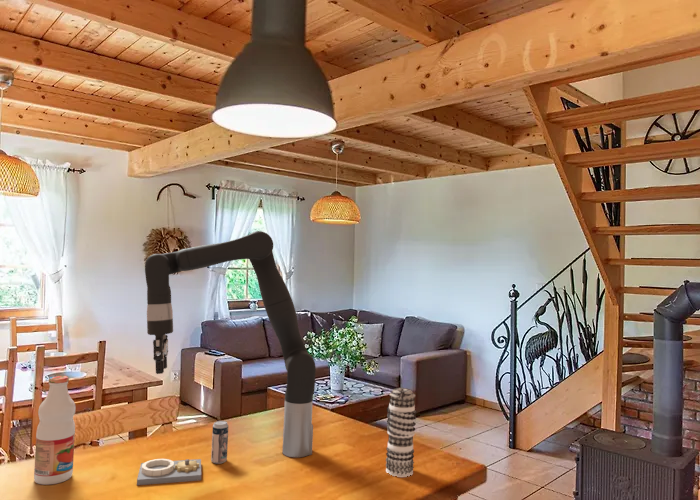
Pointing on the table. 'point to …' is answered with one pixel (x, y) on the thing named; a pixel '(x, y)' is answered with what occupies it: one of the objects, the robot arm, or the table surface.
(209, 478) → the table surface
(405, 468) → the decorative candle
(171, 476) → the gear board
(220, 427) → the beer can
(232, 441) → the table surface
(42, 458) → the fruit juice
